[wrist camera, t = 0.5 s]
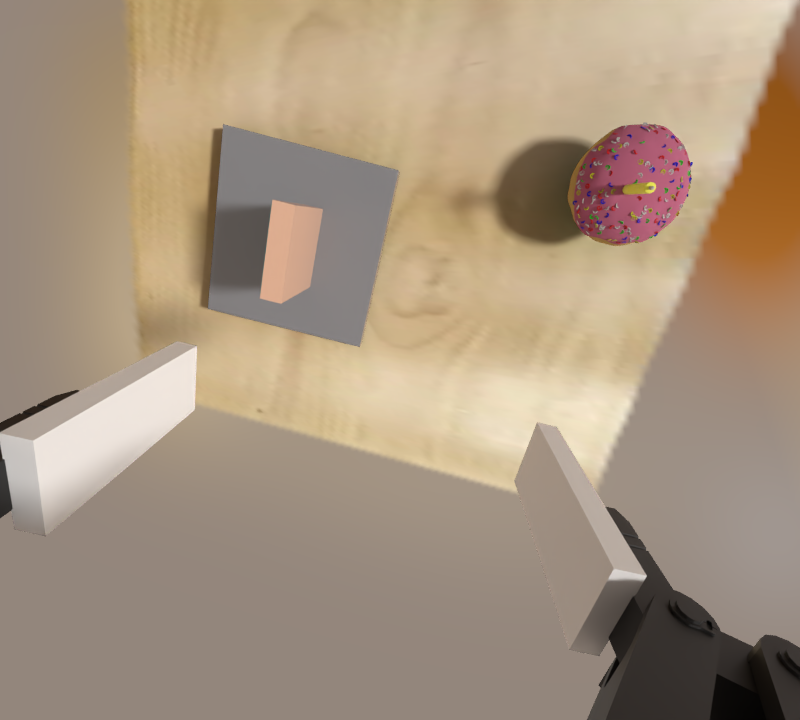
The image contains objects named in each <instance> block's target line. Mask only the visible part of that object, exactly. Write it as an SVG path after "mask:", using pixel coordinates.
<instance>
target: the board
mask: <svg viewBox="0 0 800 720" xmlns="http://www.w3.org/2000/svg"><path fill="white" fill-rule="evenodd" d="M399 174H400V172H399V171H398V170H395V169H391V168H387V167H383V166H379V165H376V164H372V163H368V162H364V161H360V160H357V159H353V158H349V157H345V156H341V155H338V154H334V153H330V152H326V151H322V150H319V149H315V148H311V147H307V146H304V145H300V144H296V143H292V142H288V141H285V140H281V139H277V138H273V137H269V136H266V135H262V134H258V133H254V132H250V131H247V130H243V129H239V128H235V127H231V126H228V125H224V124H223V133H222V145H221V157H220V169H219V181H218V193H217V205H216V218H215V230H214V242H213V254H212V266H211V278H210V290H209V302H208V309H211V310H215V311H219V312H223V313H227V314H231V315H235V316H239V317H243V318H247V319H250V320H254V321H258V322H262V323H266V324H270V325H274V326H278V327H282V328H286V329H290V330H294V331H298V332H302V333H306V334H310V335H314V336H318V337H322V338H326V339H330V340H334V341H338V342H342V343H346V344H350V345H354V346H358V347H360V345H361V343H362V340H363V335H364V331H365V326H366V322H367V317H368V313H369V308H370V304H371V299H372V295H373V290H374V286H375V281H376V277H377V272H378V268H379V263H380V259H381V254H382V250H383V245H384V241H385V236H386V232H387V227H388V223H389V218H390V214H391V209H392V205H393V200H394V196H395V191H396V187H397V183H398V178H399ZM272 200H279V201H286V202H292V203H299V204H305V205H309V206H313V207H317V208H321V209H323V213H322V219H321V225H320V231H319V237H318V242H317V248H316V254H315V260H314V266H313V272H312V278H311V284H310V287H309V288H308V289H306V290H304V291H302V292H301V293H299V294H297V295H295V296H294V297H292V298H290V299H288V300H287V301H285V302H283V303H281V304H280V303H276V302H272V301H268V300H264V299H260V289H261V281H262V273H263V265H264V257H265V249H266V241H267V233H268V225H269V217H270V210H271V204H272Z"/></svg>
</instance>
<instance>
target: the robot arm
mask: <svg viewBox="0 0 800 720" xmlns="http://www.w3.org/2000/svg"><path fill="white" fill-rule="evenodd" d="M196 361H197V346H196V345H191V344H187V343H183V342H178V341H176V342H174V343H172V344H171V345H169V346H167V347H165V348H163V349H161V350H159V351H157V352H155V353H153V354H151V355H149V356H147V357H145V358H143V359H141V360H139V361H137V362H136V363H134V364H132V365H130V366H128V367H126V368H124V369H122V370H120V371H118V372H116V373H114V374H112V375H110V376H108V377H106V378H105V379H103V380H101V381H99V382H97V383H95V384H93V385H91V386H89V387H87V388H85V389H83V390H81V391H79V390H75V391H71V392H68V393H64V394H60V395H56V396H54V397H52V398H50V399H48V400H46V401H44V402H42V403H40V404H38V405H37V407H36V406H34V407H32V408H30V409H27V410H25V411H24V412H23V413H22V414H20V413H19V414H17V415H15V416H13V417H11V418H9V419H7V420H5V421H3V422H1V423H0V518H1V517H2V516H4V515H5V514H7V513H8V512H9V511H11V512H12V518H13V524H14V529H15V530H19V531H24V532H29V533H33V534H38V535H42V536H46V535H48V534H49V533H50V532H51V531H52V530H53V529H55V528H56V527H57V526H58V525H59V524H61V523H62V522H63V521H64V520H65V519H67V518H68V517H69V516H70V515H71V514H72V513H74V512H75V511H76V510H77V509H78V508H79V507H81V506H82V505H83V504H84V503H85V502H86V501H88V500H89V499H90V498H91V497H92V496H94V495H95V494H96V493H97V492H98V491H100V490H101V489H102V488H103V487H104V486H105V485H107V484H108V483H109V482H110V481H111V480H112V479H114V478H115V477H116V476H117V475H118V474H119V473H121V472H122V471H123V470H124V469H125V468H127V466H129V465H130V464H131V463H132V462H133V461H135V460H136V459H137V458H138V457H140V456H141V455H142V454H143V453H144V452H145V451H147V450H148V449H149V448H150V447H151V446H153V445H154V444H155V443H156V442H157V441H158V440H160V439H161V438H162V437H163V436H164V435H165V434H167V433H168V432H169V431H170V430H171V429H172V428H174V427H175V426H176V425H177V424H178V423H180V422H181V421H182V420H183V419H184V418H186V417H187V416H188V415H189V414H190V413H191V412H193V411H194V410H195V388H196ZM515 484H516V487H517V490H518V494H519V497H520V500H521V503H522V506H523V509H524V512H525V515H526V518H527V521H528V524H529V527H530V530H531V533H532V537H533V539H534V543H535V546H536V549H537V552H538V555H539V558H540V561H541V564H542V567H543V570H544V573H545V576H546V579H547V582H548V586H549V589H550V592H551V595H552V598H553V601H554V604H555V607H556V610H557V613H558V616H559V619H560V622H561V626H562V629H563V631H564V635H565V638H566V641H567V644H568V647H569V650H573V651H578V652H582V653H587V654H592V655H596V656H600V654H601V652H602V651H603V649H604V647H605V646H606V644H607V642H608V641H609V640H610V642H611V645H612V647H613V649H614V651H615V654H616V658H615V660H614V661H613V663H612V664H611V666H610V667H609V669H608V671H607V672H606V674H605V676H604V677H603V679H602V681H601V682H600V684H599V686H600V687H601V689H600V691H599V693H598V696H597V698H596V700H595V703H594V705H593V707H592V709H591V712H590V714H589V716H588V719H587V720H800V648H799V647H798V646H796V645H794V644H793V643H791V642H789V641H787V640H785V639H782V638H780V637H777V636H773V635H765V636H763V637H762V638H761V639H760V640H759V641H758V642H757V644H756V645H755V646H754V647H753V646H751V645H748V644H746V643H744V642H742V641H740V640H738V639H736V638H734V637H732V636H729V635H727V634H725V633H723V632H721V631H720V628H719V627H718V625H717V623H716V622H715V620H714V619H713V618H712V617H711V615H709V613H708V612H707V611H706V610H705V609H704V608H703V607H702V606H700V605H699V604H698V603H697V602H695V601H694V600H692V599H691V598H689V597H688V596H686V595H684V594H682V593H680V592H678V591H674V590H673V589H672V587H671V586H670V584H669V583H668V581H667V579H666V578H665V576H664V575H663V573H662V572H661V571H660V569H659V567H658V566H657V564H656V563H655V561H654V560H653V558H652V556H651V555H650V554H649V552H648V551H646V547H645V546H644V544H643V543H642V541H641V540H640V539H638V535H637V534H636V532H635V530H634V529H633V527H632V526H631V524H630V523H629V522H628V521H627V520H626V519H625V518H624V517H623V516H622V515H621V514H620V513H619V512H618V511H617V510H615V509H614V508H609V507H605V506H604V504H603V503H602V501H601V499H600V498H599V496H598V494H597V493H596V491H595V489H594V488H593V486H592V484H591V483H590V481H589V479H588V478H587V476H586V474H585V473H584V471H583V469H582V468H581V466H580V464H579V463H578V461H577V460H576V458H575V456H574V455H573V453H572V451H571V450H570V448H569V446H568V445H567V443H566V441H565V440H564V438H563V436H562V435H561V433H560V431H559V430H558V428H557V427H555V426H551V425H546V424H542V423H537V424H536V427H535V429H534V432H533V435H532V437H531V440H530V442H529V445H528V447H527V450H526V453H525V455H524V458H523V460H522V463H521V465H520V468H519V471H518V473H517V476H516V478H515Z"/></svg>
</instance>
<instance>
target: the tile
mask: <svg viewBox="0 0 800 720" xmlns="http://www.w3.org/2000/svg"><path fill="white" fill-rule="evenodd" d="M322 213H323V209H321V208H317V207H313V206H309V205H305V204H299V203H292V202H286V201H279V200H272V204H271V210H270V217H269V225H268V233H267V241H266V249H265V257H264V265H263V273H262V281H261V289H260V299H264V300H268V301H272V302H276V303H280V304H281V303H283V302H285V301H287V300H288V299H290V298H292V297H294V296H295V295H297V294H299V293H301V292H302V291H304V290H306V289H308V288H309V287H310V284H311V278H312V272H313V266H314V260H315V254H316V248H317V242H318V237H319V231H320V225H321V219H322Z"/></svg>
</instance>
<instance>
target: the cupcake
mask: <svg viewBox="0 0 800 720" xmlns="http://www.w3.org/2000/svg"><path fill="white" fill-rule="evenodd" d="M692 164H693V162H691V163H690V161H689V158H688V155H687V152H686V149H685V147H684V145H683V144H682V143H681V141H680V140H679V139H678V138H677V137H676V136H675V135H674V134H673V133H672V132H671V131H670V130H669V129H667V128H666V127H663V126H660V125H655V124H654V125H651V124H647V123H643V125H626V126H621V127H619V128H617V129H614V130H612V131H611V132H609V133H608V134H607V135H606V136H604V137H603V138H602V139H600V140H599V141H598V142H597V143H595V144H594V145H593V146H592V147H591V148H590V149H589V150H588V151H587V152H586V153H585V155H584V156H583V157H582V158H581V160H580V161H579V163H578V164H577V166H576V168H575V169H574V171H573V174H572V176H571V181H570V186H569V191H568V202H569V205H570V208H571V211H572V215H573V219H574V221H575V223H576V224H577V226H578V228H579V229H580V230H581V231H582V232H583V233H584V234H585V235H587V236H589V237H590V238H592V239H593V240H595V241H598V242H601V243H605V244H608V245H613V246H621V245H627V244H630V243H634V242H635V243H639V242H643V241H645V240H647V239H649V238H652V237H653V236H656V235H657V234H658V232H660V231H661V230H662V229H663V228H665V227H666V226H667V225H668V224H670V223H671V222H672V221H673V220H674V218H675V217H676V216H678V214H679V211H680V209H681V208H682V206H683V203H684V201H685V199H686V196H687V197H688V190H689V189H690V184H691V182H690V181H691V179H692V178H691V174H690V173H691V170H690V167H691V165H692Z"/></svg>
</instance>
